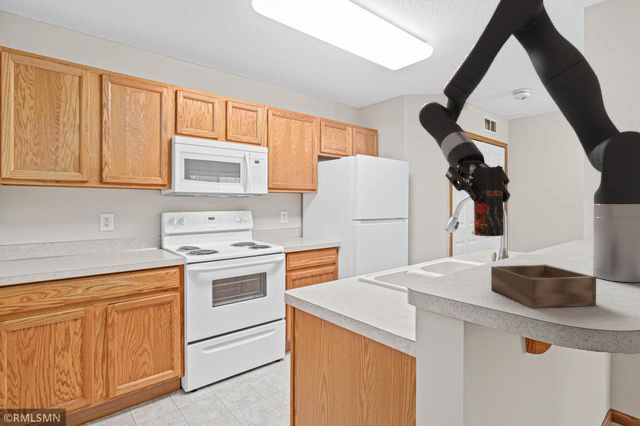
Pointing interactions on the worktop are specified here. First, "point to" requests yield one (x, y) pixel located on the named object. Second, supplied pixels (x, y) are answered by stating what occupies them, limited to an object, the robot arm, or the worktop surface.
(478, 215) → the deodorant
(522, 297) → the holder box
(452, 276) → the worktop surface
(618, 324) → the worktop surface
